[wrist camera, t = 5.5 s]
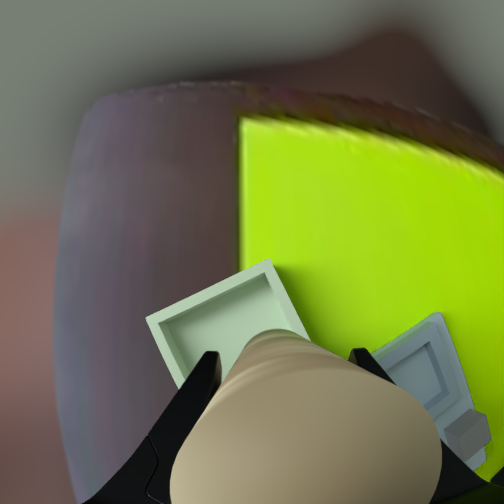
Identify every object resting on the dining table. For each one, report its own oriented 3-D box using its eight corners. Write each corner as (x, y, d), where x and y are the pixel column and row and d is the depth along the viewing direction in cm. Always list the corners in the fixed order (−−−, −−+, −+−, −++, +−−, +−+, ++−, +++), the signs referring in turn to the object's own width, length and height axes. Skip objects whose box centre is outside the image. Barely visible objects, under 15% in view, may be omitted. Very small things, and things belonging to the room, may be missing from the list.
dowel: (275, 414, 15) (297, 600, 3) (223, 363, 16) (117, 483, 3) (329, 364, 16) (478, 464, 3) (278, 312, 17) (326, 305, 4)
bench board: (317, 551, 18) (322, 575, 14) (232, 422, 21) (227, 439, 18) (480, 456, 19) (500, 467, 15) (433, 312, 22) (457, 311, 19)
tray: (211, 426, 21) (205, 438, 19) (157, 317, 23) (145, 317, 21) (324, 375, 22) (331, 382, 19) (268, 264, 24) (269, 258, 21)
